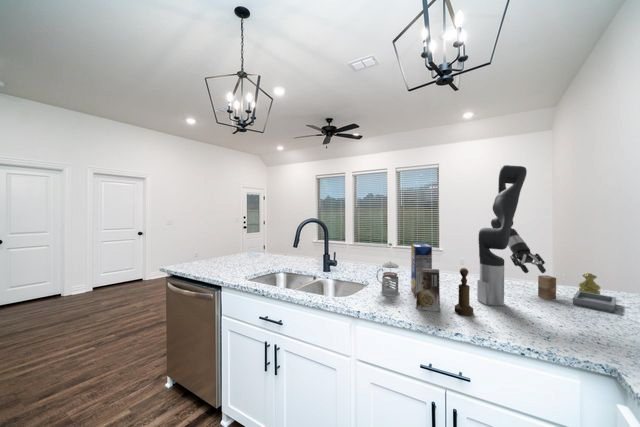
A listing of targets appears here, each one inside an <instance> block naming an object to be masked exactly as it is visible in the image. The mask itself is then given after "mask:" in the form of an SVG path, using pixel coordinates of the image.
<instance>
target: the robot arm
mask: <svg viewBox="0 0 640 427" xmlns="http://www.w3.org/2000/svg"><path fill="white" fill-rule="evenodd" d="M526 177H527V168H526V167H525V166H522V165H509V164H508V165H503V166H501V169H500V171H499V174H498V190H497V193H498V194H496V196H495V199H494V201H493V204H492V211H493V214H494V215H495V216H496V217H494V218H492V220H491V221H490V225H491V227H482V228H481V229H480V230H479V231H478V256H479V257H478V258H479V278H478V279H477V280H476V281H477V285H476V286H477V289H476V290H477V291H476V292H477V294H476V295H477V296H476V297H477V299H476V300H477V301H478V302H480V303H482V304H484V305H487V306H493V307H495V306H496V307H502V306H504V305H505V259H504V258H503V257H502V256H498V255H497V254H495V253H493V252H492V251H491V250H501V251H502V250H506V249H507V247H508V249H510V251H511V253H512V254H511V255H510V257H509V258H510V260H511V261H512V263H513V265H514V266H515V267H519V268H520V269H521V271H522V273H524V274H528V273H529V272H530V270H529V269H528V267H527V266H526V264H531V265H534V266H536V267H537V268H538V270H539V271H540V273H541V274H545V273H546V272H547V270H546V267H544V265H545V264H546V262H545V261H544V259H543V258H542V256H541V255H540V254H538V253H535V254H533V253H531V249H530V247H529V246H528V245H527V243H526V242H525V241H524V239H523V238H522V237H521V236H520V234H519V232H518V231H517V230H516V229H514V228H512V227H513V225H514V217H515V214H516V211H517V208H518V207H517V206H518V203H519V198H520V194H521V191H522V188H523V186H524V183H525V180H526ZM508 184H511V185H510V186H508V188H507V185H508Z"/></svg>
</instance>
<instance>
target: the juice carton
mask: <svg viewBox="0 0 640 427" xmlns="http://www.w3.org/2000/svg"><path fill="white" fill-rule="evenodd" d="M410 244H411V247H410V248H411V253H410V255H411V256H410V258H411V262H410V264H411V265H410V266H411V268H410V270H411V272H410V273H411V276H410V278H411V279H410V282H411V283H410V284H411V286H410V287H411V291H412V293H413V295H414V297H415V298H416V270H417V268H426V269H433V265H432V264H433V246H432V245H430V244H428V243H410Z"/></svg>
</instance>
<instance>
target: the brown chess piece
mask: <svg viewBox="0 0 640 427" xmlns="http://www.w3.org/2000/svg"><path fill="white" fill-rule="evenodd" d="M459 274H460V276H461V279H460V282H461V283H459V284H458V303H457V304H456V305H454V313H456V314H457V315H460V316H466V317H468V316H469V317H472V316H474V308H473V306H471V305H470V304H471V303H470V290H471V289H470V288H471V287H470V285H469V284H467V283H468V279H467V276H468V275H469V270H468V269H467V268H465V267H461V268H460V269H459Z"/></svg>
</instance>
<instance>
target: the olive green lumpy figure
mask: <svg viewBox="0 0 640 427" xmlns="http://www.w3.org/2000/svg"><path fill="white" fill-rule="evenodd" d="M582 277H583V278H584V280H582V282H579V283H578V286H579V288H578V291H581V292H587V293H593V294H599V295H601V290H600V289H601V286H600V285H599V284H597V283H596V282H595V281H594V280H596V279H597V275H595V274H593V273H591V272H590V273H588V272H587V273H584V274H582Z"/></svg>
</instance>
